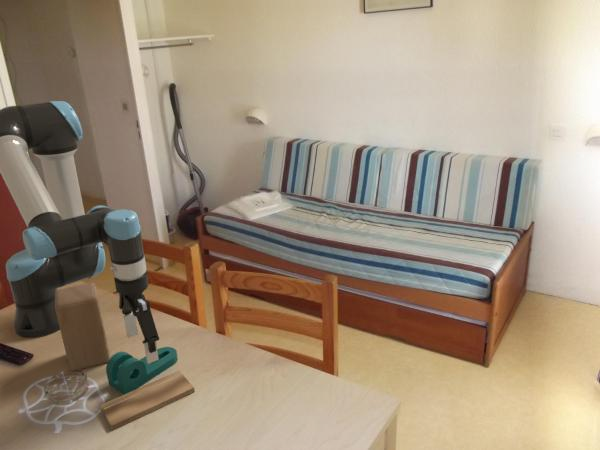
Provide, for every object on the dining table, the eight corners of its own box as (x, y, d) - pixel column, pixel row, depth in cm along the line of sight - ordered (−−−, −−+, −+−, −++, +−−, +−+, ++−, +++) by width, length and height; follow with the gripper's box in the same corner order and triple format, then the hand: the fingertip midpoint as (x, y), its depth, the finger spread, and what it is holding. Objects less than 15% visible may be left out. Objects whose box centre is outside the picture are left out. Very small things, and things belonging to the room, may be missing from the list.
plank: (100, 409, 121) (99, 404, 120) (179, 374, 132) (179, 370, 131) (112, 430, 114) (111, 425, 114) (194, 391, 125) (194, 387, 125)
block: (70, 373, 133) (54, 306, 126) (69, 352, 142) (54, 289, 135) (110, 362, 137) (97, 297, 130) (107, 343, 146) (94, 280, 138)
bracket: (125, 396, 125) (120, 370, 122) (109, 386, 128) (103, 360, 126) (183, 359, 138) (179, 334, 135) (166, 351, 142) (162, 326, 139)
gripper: (98, 260, 130) (111, 330, 138) (134, 300, 111) (147, 379, 120) (127, 251, 134) (138, 321, 142) (166, 289, 116) (177, 366, 124)
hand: (142, 347), depth 131 cm, fingers open, 13 cm apart
